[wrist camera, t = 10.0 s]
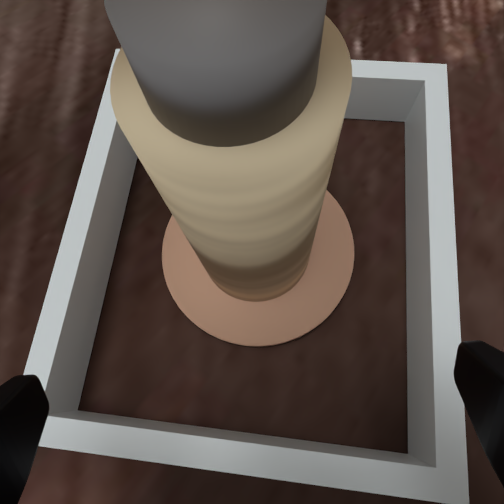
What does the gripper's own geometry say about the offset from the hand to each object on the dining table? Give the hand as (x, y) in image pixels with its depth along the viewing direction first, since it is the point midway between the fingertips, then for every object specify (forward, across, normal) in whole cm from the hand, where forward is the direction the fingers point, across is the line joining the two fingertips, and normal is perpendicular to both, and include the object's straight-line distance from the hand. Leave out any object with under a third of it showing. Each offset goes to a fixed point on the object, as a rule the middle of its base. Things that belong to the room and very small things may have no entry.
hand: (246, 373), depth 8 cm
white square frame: (+11, 0, +2) cm, 11 cm away
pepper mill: (+10, 0, +2) cm, 10 cm away
